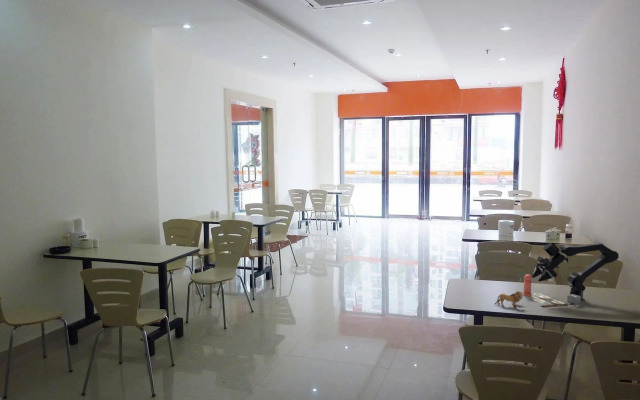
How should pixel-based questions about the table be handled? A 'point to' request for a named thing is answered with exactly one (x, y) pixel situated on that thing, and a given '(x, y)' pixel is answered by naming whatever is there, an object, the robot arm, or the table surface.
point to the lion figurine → (510, 298)
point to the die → (574, 299)
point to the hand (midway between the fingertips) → (535, 279)
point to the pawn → (527, 285)
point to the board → (546, 302)
